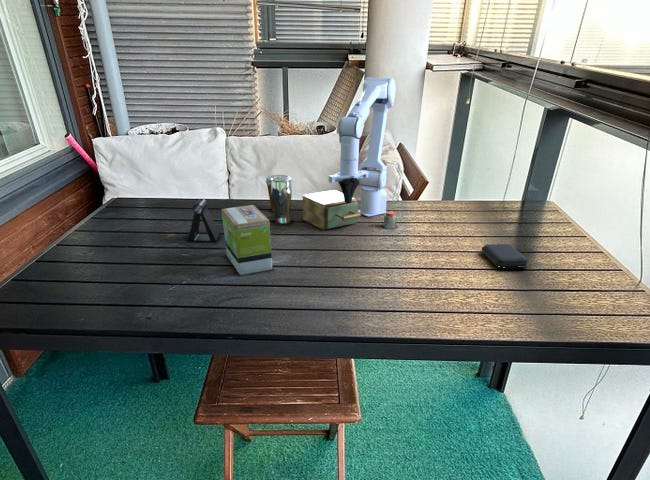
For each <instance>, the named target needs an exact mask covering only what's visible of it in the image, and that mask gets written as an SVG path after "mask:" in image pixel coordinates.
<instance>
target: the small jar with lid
mask: <svg viewBox="0 0 650 480" xmlns="http://www.w3.org/2000/svg"><path fill="white" fill-rule="evenodd" d="M397 217H398V216H397V213H396V212H395V211H393V210H389V211H387V212H386V213H384V215H383V228H385V229H387V230H388V229H389V230H392V229H395V228H396V227H397Z"/></svg>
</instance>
